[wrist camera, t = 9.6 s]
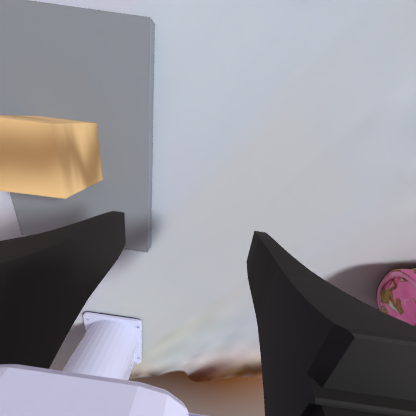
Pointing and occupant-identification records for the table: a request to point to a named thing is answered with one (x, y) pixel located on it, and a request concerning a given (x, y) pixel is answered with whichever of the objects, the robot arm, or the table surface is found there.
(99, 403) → the robot arm
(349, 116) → the table surface
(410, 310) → the pencil case
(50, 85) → the mat
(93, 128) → the ochre cube
